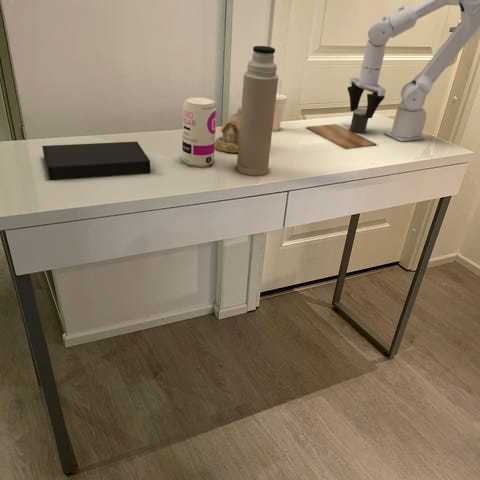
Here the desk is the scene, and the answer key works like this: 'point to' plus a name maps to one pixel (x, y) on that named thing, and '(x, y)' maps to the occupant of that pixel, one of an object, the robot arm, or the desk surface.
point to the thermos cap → (359, 121)
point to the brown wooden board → (341, 136)
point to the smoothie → (279, 109)
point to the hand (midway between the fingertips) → (360, 114)
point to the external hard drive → (95, 160)
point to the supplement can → (198, 131)
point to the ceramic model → (230, 134)
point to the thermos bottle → (257, 112)
